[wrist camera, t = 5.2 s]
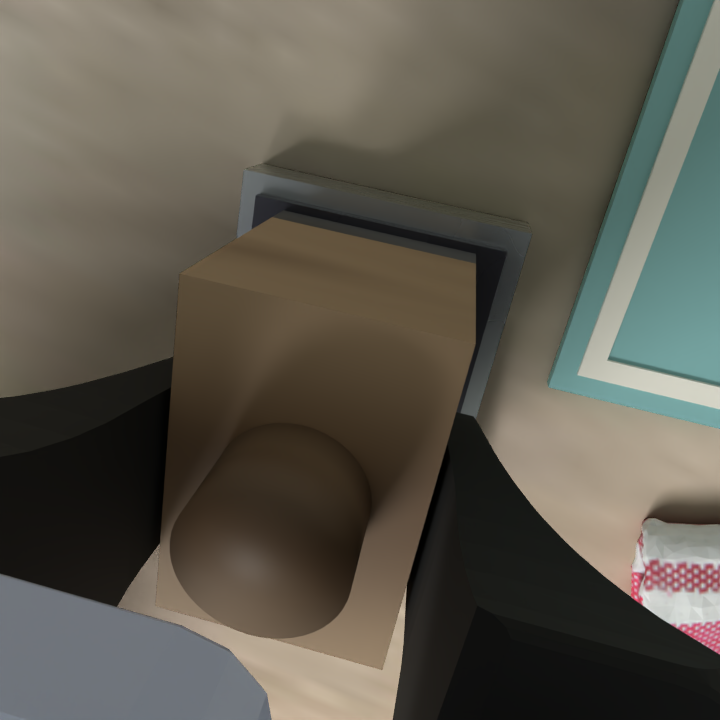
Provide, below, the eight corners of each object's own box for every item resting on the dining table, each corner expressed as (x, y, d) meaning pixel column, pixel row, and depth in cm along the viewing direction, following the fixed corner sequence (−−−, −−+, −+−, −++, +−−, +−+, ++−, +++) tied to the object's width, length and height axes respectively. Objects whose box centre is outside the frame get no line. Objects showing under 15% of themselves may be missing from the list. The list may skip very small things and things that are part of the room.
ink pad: (440, 516, 17) (436, 553, 16) (225, 460, 17) (204, 492, 16) (527, 222, 14) (533, 237, 12) (261, 163, 14) (239, 171, 13)
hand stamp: (410, 496, 15) (367, 761, 9) (249, 455, 15) (105, 685, 9) (476, 253, 13) (475, 399, 7) (283, 210, 13) (117, 310, 7)
